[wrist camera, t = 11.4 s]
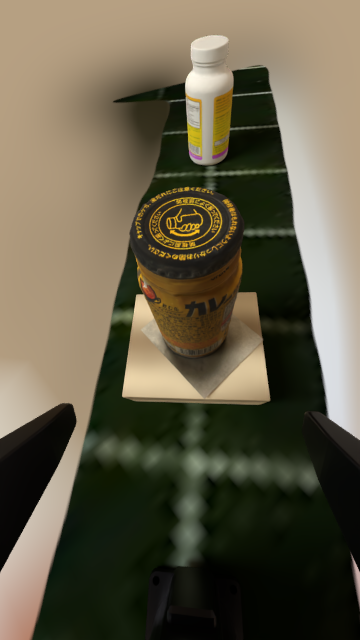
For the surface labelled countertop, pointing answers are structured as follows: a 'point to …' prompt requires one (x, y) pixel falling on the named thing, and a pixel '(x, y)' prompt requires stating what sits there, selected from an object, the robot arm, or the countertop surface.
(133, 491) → the countertop surface
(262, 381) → the wooden block
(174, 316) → the condiment
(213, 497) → the countertop surface
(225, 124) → the supplement bottle
